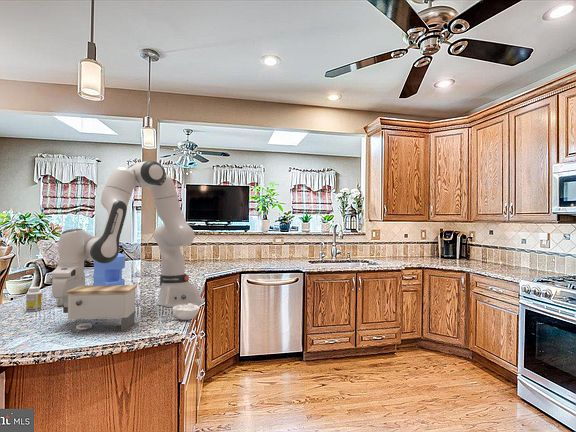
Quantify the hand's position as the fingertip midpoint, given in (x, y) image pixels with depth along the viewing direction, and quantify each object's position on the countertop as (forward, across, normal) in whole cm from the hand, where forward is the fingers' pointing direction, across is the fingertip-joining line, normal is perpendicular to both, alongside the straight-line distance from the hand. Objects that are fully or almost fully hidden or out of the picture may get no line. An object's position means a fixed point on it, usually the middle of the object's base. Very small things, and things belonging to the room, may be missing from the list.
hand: (69, 305), depth 136 cm
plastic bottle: (+7, -30, -15) cm, 34 cm away
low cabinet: (+7, +9, +15) cm, 19 cm away
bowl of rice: (+7, 0, +44) cm, 45 cm away
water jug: (+7, -57, -4) cm, 58 cm away
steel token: (+7, +9, +9) cm, 14 cm away
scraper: (+3, 0, +6) cm, 7 cm away
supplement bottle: (+7, -22, -24) cm, 33 cm away
